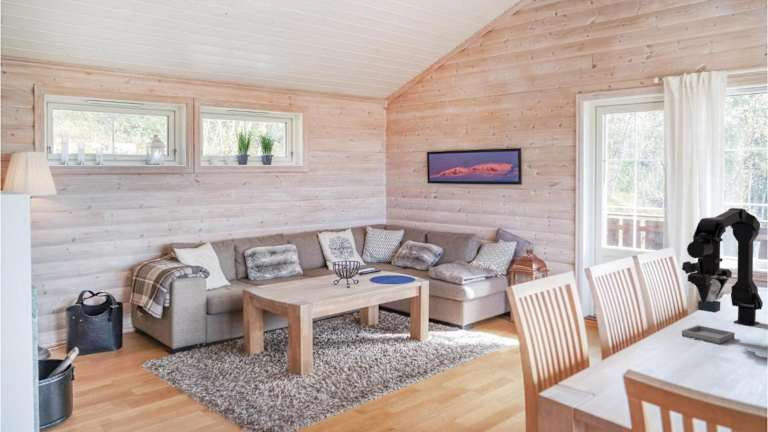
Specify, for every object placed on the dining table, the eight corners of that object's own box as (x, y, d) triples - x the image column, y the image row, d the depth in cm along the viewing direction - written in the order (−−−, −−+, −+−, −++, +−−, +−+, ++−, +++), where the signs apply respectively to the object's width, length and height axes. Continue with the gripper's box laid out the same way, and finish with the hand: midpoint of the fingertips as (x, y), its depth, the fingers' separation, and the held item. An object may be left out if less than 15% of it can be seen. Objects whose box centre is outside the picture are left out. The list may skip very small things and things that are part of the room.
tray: (697, 330, 216) (697, 325, 216) (734, 338, 206) (734, 332, 206) (681, 336, 210) (682, 330, 210) (719, 344, 200) (719, 338, 200)
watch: (722, 309, 208) (723, 278, 207) (712, 313, 203) (713, 281, 202) (705, 306, 212) (706, 276, 211) (695, 310, 207) (696, 279, 206)
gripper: (700, 250, 218) (699, 292, 219) (673, 255, 207) (671, 300, 208) (733, 253, 209) (731, 297, 210) (705, 259, 198) (704, 305, 199)
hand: (709, 300), depth 207 cm, fingers closed on watch, 8 cm apart
